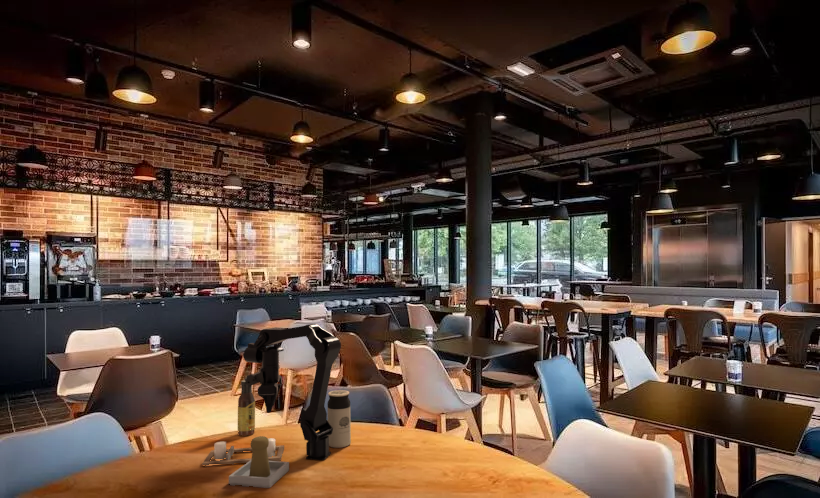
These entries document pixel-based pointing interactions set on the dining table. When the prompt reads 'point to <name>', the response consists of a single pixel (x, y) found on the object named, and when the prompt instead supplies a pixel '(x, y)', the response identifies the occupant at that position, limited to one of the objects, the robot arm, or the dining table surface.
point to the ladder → (230, 453)
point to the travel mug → (339, 418)
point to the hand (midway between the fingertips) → (270, 409)
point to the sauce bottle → (246, 411)
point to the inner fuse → (271, 447)
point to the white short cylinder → (220, 450)
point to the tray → (244, 479)
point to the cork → (259, 457)
